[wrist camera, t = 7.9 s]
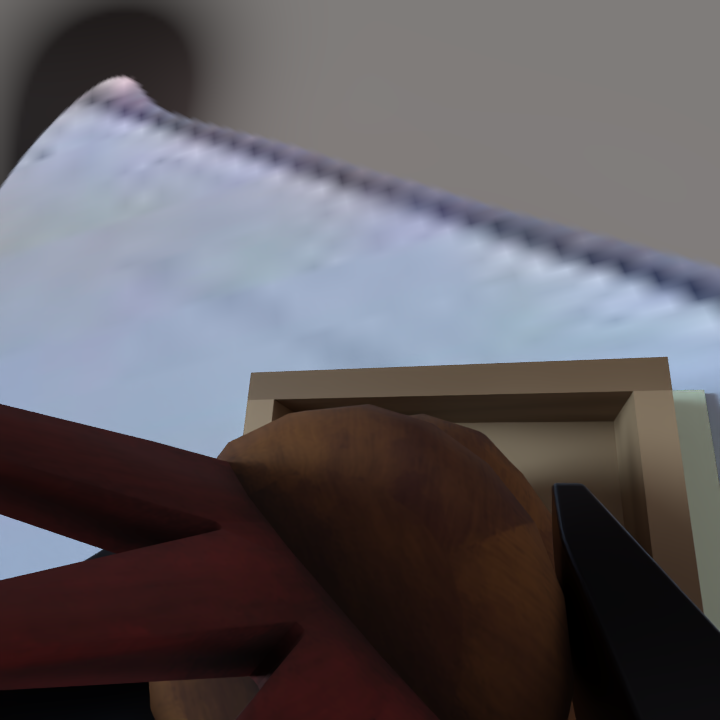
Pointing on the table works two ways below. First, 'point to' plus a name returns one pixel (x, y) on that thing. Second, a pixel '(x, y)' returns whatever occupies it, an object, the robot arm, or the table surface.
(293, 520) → the wooden figurine
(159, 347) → the table surface
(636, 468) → the holder
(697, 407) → the felt mat
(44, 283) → the table surface
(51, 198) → the table surface
